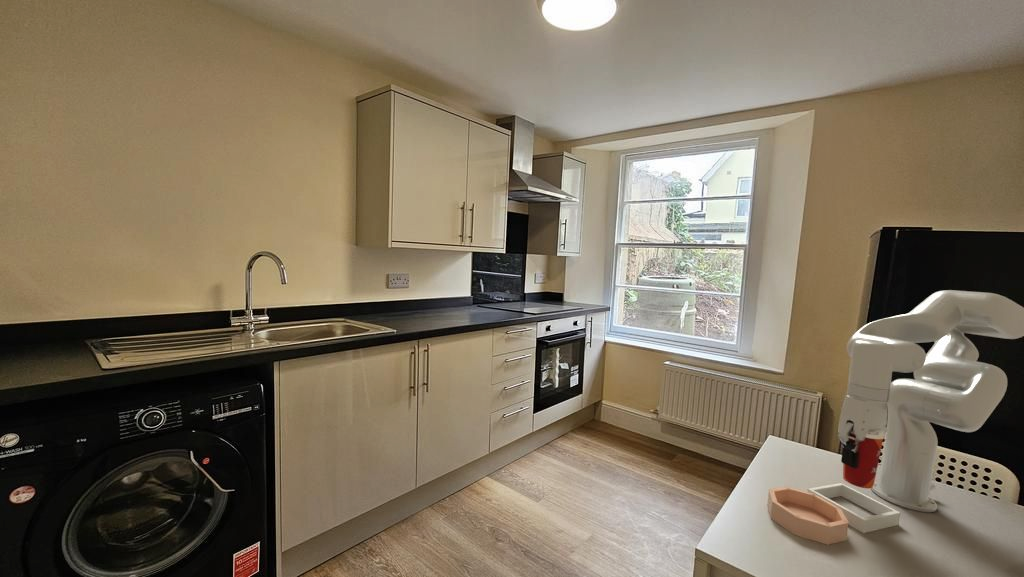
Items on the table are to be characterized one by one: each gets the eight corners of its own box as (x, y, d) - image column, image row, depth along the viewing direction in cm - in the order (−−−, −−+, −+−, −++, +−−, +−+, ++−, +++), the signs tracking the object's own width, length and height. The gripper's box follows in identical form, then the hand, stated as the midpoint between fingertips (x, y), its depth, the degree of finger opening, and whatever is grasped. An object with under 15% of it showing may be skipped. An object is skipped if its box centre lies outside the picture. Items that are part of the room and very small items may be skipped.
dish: (795, 499, 101) (797, 484, 101) (858, 537, 88) (861, 519, 88) (754, 507, 97) (756, 491, 97) (814, 547, 84) (816, 529, 83)
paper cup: (887, 493, 93) (894, 435, 92) (849, 488, 94) (856, 431, 93) (865, 475, 101) (871, 421, 99) (830, 471, 102) (836, 418, 101)
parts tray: (839, 493, 106) (841, 482, 105) (898, 524, 94) (900, 512, 94) (806, 499, 102) (807, 488, 101) (863, 533, 90) (865, 520, 89)
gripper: (873, 384, 102) (865, 451, 103) (825, 389, 96) (818, 460, 98) (910, 394, 95) (901, 466, 96) (861, 400, 89) (852, 477, 91)
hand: (859, 462), depth 97 cm, fingers closed on paper cup, 6 cm apart
